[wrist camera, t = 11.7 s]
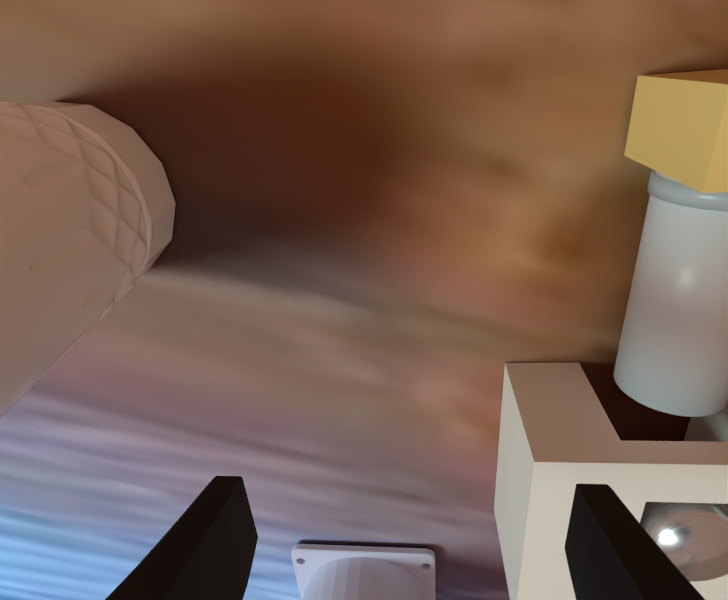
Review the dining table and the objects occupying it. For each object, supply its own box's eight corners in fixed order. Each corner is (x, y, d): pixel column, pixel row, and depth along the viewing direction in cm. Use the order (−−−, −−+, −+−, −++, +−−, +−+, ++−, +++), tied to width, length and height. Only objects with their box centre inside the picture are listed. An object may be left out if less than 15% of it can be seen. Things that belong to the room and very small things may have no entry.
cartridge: (704, 354, 19) (790, 443, 15) (588, 355, 19) (638, 441, 15) (792, 63, 14) (959, 68, 10) (636, 75, 15) (730, 84, 10)
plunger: (702, 530, 18) (734, 583, 16) (624, 528, 18) (646, 579, 16) (722, 478, 17) (759, 528, 15) (638, 476, 17) (664, 525, 15)
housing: (726, 515, 23) (811, 639, 18) (494, 508, 24) (514, 623, 19) (789, 361, 19) (920, 468, 14) (505, 362, 20) (534, 461, 15)
